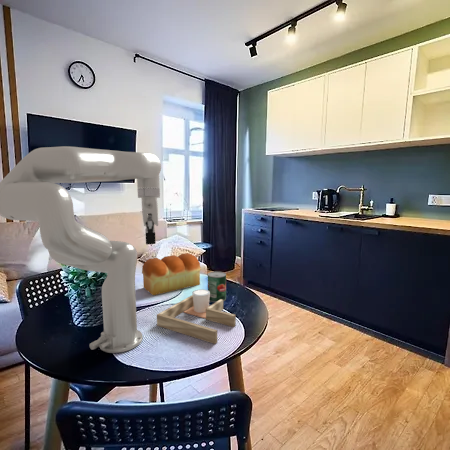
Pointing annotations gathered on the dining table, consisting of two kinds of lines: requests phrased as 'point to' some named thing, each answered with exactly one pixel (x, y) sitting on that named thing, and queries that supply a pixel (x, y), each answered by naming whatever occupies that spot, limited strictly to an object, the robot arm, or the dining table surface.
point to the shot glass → (201, 300)
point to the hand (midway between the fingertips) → (150, 241)
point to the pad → (192, 312)
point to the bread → (171, 273)
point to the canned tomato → (217, 286)
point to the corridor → (191, 329)
